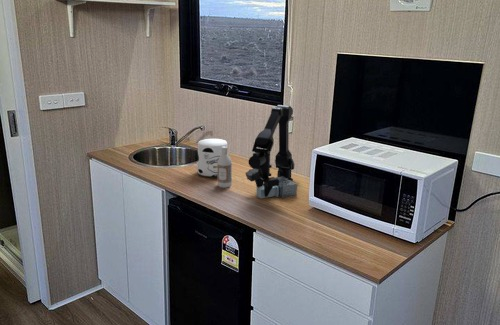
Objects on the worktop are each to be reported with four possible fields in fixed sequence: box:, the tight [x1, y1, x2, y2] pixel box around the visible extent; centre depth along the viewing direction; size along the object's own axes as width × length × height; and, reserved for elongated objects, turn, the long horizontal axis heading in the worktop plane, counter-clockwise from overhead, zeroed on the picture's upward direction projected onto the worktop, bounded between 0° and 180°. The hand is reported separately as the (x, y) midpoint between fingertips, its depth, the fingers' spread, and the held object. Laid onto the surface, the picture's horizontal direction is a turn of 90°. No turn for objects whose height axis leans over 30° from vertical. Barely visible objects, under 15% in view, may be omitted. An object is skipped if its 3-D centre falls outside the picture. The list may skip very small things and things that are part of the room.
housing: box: [275, 176, 298, 199], centre depth 209 cm, size 8×12×6 cm, turn 30°
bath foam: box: [217, 146, 233, 189], centre depth 215 cm, size 7×7×20 cm
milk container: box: [196, 138, 229, 178], centre depth 231 cm, size 17×17×18 cm
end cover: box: [255, 186, 279, 199], centre depth 206 cm, size 16×6×5 cm, turn 120°
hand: (262, 194), depth 204 cm, fingers open, 6 cm apart
